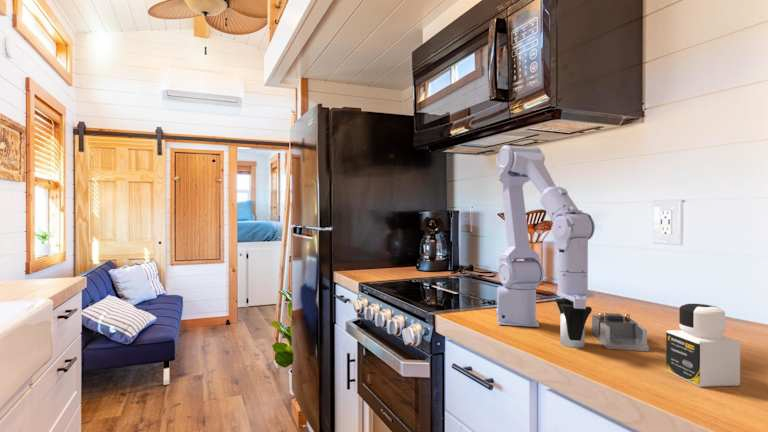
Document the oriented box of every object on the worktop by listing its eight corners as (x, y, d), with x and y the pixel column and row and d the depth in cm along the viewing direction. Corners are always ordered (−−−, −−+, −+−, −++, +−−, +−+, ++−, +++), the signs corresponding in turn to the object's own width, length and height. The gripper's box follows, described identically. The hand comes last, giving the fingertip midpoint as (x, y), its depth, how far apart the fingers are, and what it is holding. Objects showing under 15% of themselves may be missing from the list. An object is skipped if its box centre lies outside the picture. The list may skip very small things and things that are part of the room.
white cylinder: (562, 346, 87) (562, 312, 87) (558, 340, 91) (558, 307, 91) (586, 348, 86) (587, 313, 86) (581, 341, 90) (581, 308, 90)
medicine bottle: (665, 371, 74) (665, 301, 74) (703, 369, 74) (703, 300, 74) (699, 387, 66) (699, 310, 66) (741, 386, 67) (741, 310, 67)
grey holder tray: (606, 348, 86) (606, 322, 86) (592, 332, 98) (592, 309, 98) (648, 351, 84) (649, 325, 84) (628, 334, 96) (628, 311, 96)
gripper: (603, 276, 81) (602, 348, 81) (585, 267, 95) (585, 328, 95) (563, 275, 82) (563, 345, 82) (551, 266, 96) (551, 326, 96)
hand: (572, 336), depth 89 cm, fingers closed on white cylinder, 5 cm apart
